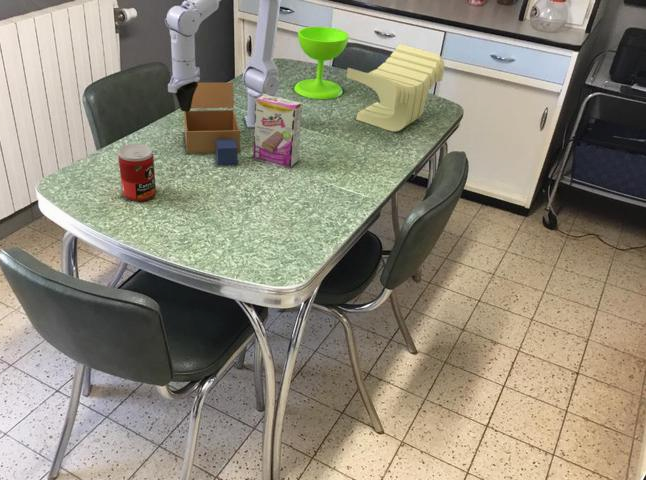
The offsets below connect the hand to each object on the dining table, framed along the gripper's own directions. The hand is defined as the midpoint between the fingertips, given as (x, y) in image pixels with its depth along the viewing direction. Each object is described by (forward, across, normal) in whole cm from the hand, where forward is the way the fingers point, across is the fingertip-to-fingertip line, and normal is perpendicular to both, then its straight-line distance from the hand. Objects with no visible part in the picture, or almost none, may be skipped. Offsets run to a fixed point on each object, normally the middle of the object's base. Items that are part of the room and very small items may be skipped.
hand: (185, 110), depth 167 cm
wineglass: (+10, +55, -22) cm, 60 cm away
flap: (0, +12, -1) cm, 12 cm away
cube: (+10, -5, -13) cm, 17 cm away
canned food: (+10, -28, -1) cm, 30 cm away
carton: (+10, +4, -5) cm, 12 cm away
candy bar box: (+10, +1, -25) cm, 27 cm away
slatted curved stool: (+10, +41, -48) cm, 64 cm away
